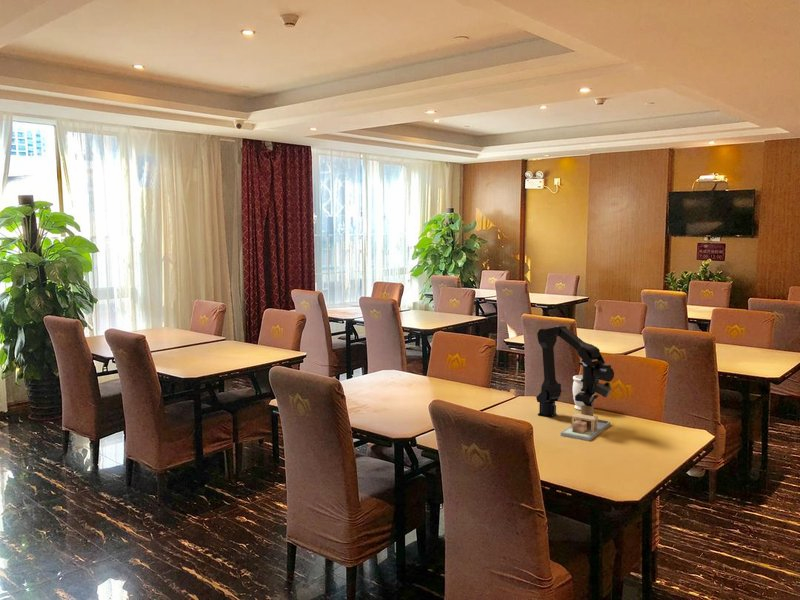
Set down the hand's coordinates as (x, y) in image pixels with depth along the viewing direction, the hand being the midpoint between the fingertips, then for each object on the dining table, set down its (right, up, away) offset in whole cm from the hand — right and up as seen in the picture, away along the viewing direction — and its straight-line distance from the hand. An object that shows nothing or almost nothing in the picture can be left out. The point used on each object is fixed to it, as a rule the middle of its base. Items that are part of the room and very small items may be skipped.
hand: (589, 412), depth 274 cm
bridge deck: (-2, -7, -2) cm, 7 cm away
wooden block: (-4, -6, -5) cm, 9 cm away
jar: (+6, -3, +29) cm, 30 cm away
